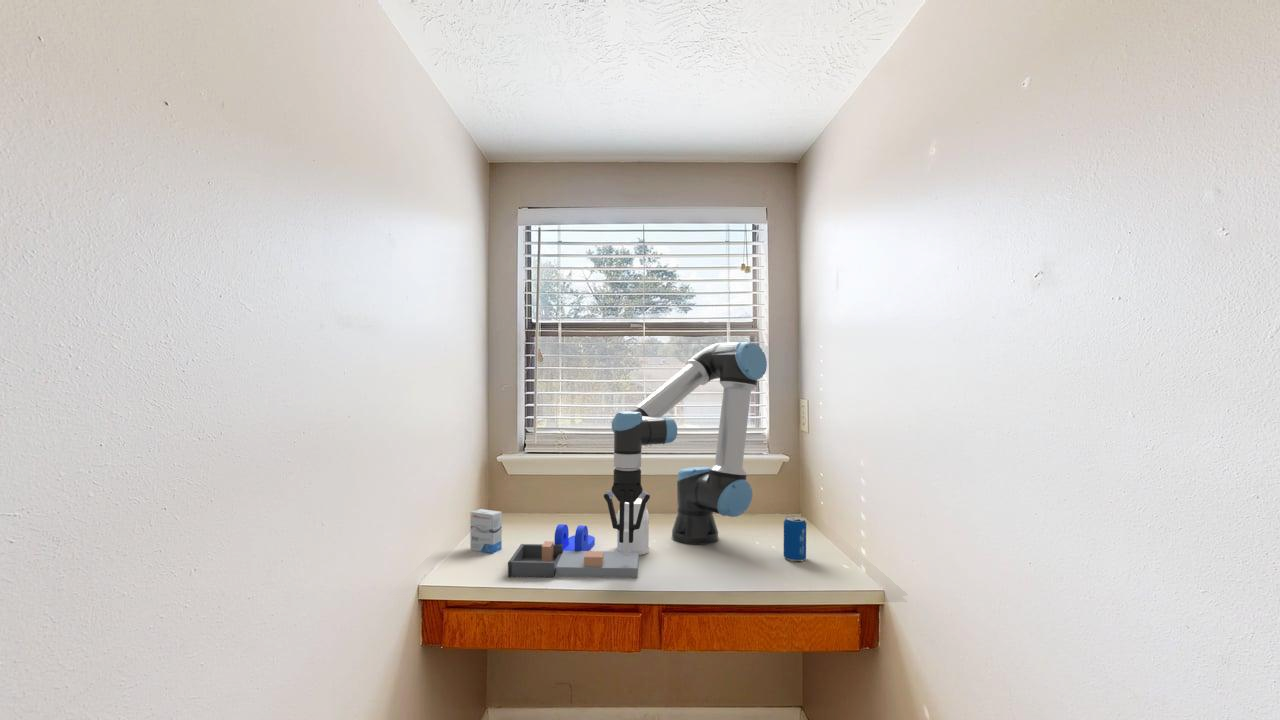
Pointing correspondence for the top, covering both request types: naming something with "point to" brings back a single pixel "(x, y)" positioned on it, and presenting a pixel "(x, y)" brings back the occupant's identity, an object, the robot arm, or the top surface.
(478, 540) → the ink box
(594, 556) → the tile
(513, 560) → the box
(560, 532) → the bracket
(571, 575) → the board
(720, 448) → the robot arm
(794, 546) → the beverage can
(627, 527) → the jar
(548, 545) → the tile
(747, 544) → the top surface
